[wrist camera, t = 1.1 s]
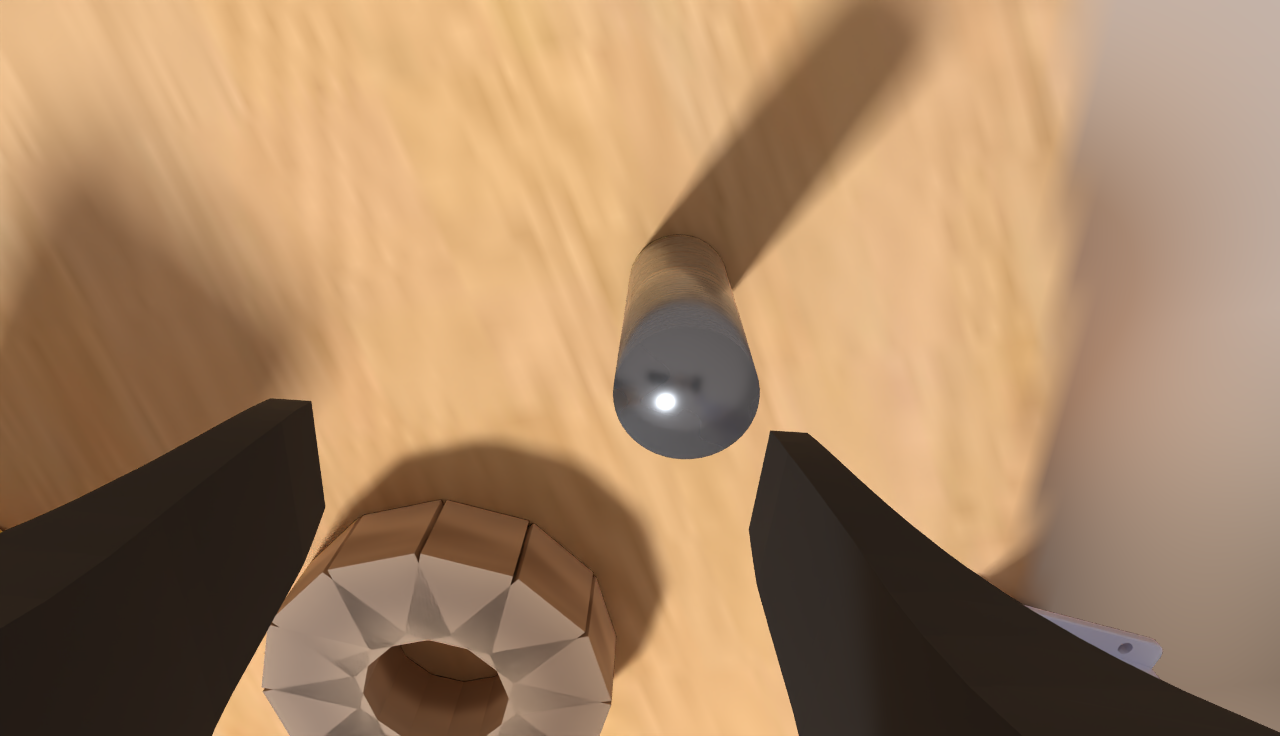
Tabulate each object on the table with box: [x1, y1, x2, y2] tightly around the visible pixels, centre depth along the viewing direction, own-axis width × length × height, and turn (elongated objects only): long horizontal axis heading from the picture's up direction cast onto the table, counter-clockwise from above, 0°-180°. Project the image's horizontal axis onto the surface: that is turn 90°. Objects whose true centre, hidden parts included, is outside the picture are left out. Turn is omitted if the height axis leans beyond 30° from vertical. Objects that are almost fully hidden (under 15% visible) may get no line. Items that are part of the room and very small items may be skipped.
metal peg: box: [613, 235, 760, 459], centre depth 18 cm, size 3×3×8 cm
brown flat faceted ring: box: [262, 500, 616, 736], centre depth 26 cm, size 12×12×3 cm
